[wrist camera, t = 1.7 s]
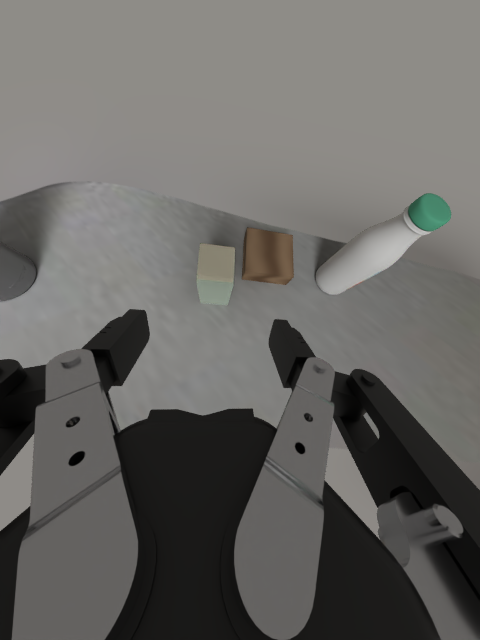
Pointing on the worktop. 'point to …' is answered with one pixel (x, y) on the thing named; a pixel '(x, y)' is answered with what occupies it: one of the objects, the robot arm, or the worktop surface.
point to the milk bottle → (381, 245)
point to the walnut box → (267, 256)
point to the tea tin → (215, 273)
